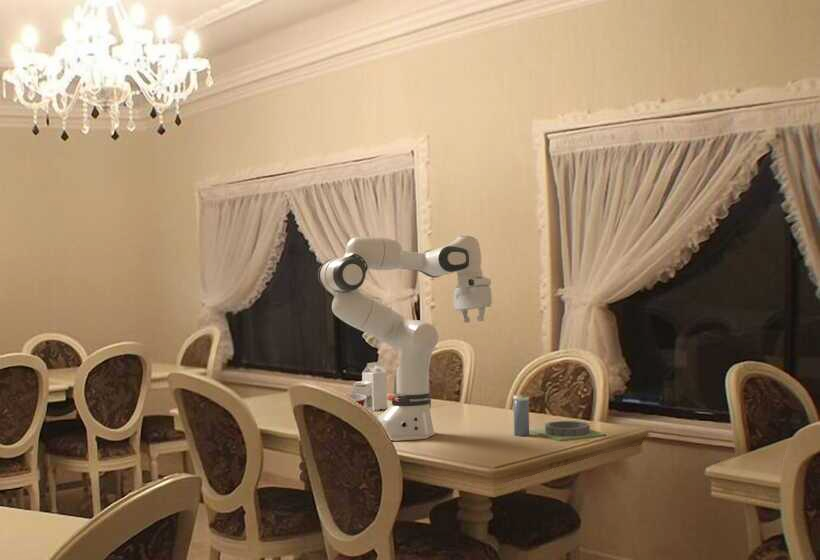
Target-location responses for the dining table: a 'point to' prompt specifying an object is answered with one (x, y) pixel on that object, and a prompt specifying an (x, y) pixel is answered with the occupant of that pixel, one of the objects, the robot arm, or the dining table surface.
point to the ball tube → (521, 415)
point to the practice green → (567, 430)
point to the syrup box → (364, 392)
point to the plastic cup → (358, 398)
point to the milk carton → (376, 384)
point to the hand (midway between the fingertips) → (473, 321)
